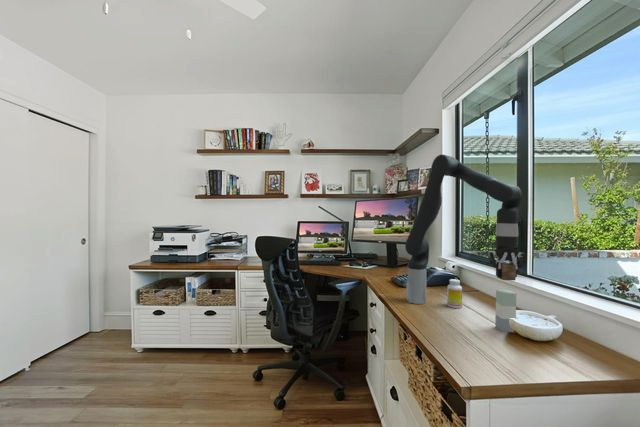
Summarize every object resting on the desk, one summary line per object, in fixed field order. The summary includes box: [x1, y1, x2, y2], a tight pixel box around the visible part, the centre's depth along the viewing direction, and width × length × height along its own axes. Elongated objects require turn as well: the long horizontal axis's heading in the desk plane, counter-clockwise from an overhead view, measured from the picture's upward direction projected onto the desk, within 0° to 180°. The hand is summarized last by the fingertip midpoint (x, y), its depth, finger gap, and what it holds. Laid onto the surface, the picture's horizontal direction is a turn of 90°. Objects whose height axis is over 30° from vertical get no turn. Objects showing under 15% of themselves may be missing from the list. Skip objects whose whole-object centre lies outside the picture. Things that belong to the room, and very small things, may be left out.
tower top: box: [495, 289, 517, 308], centre depth 115 cm, size 5×5×5 cm
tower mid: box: [495, 301, 517, 320], centre depth 115 cm, size 5×5×5 cm
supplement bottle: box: [446, 278, 463, 309], centre depth 142 cm, size 7×7×13 cm
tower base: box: [494, 314, 515, 333], centre depth 115 cm, size 5×5×5 cm
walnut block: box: [496, 262, 517, 282], centre depth 115 cm, size 4×4×6 cm
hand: (506, 278), depth 115 cm, fingers closed on walnut block, 4 cm apart
